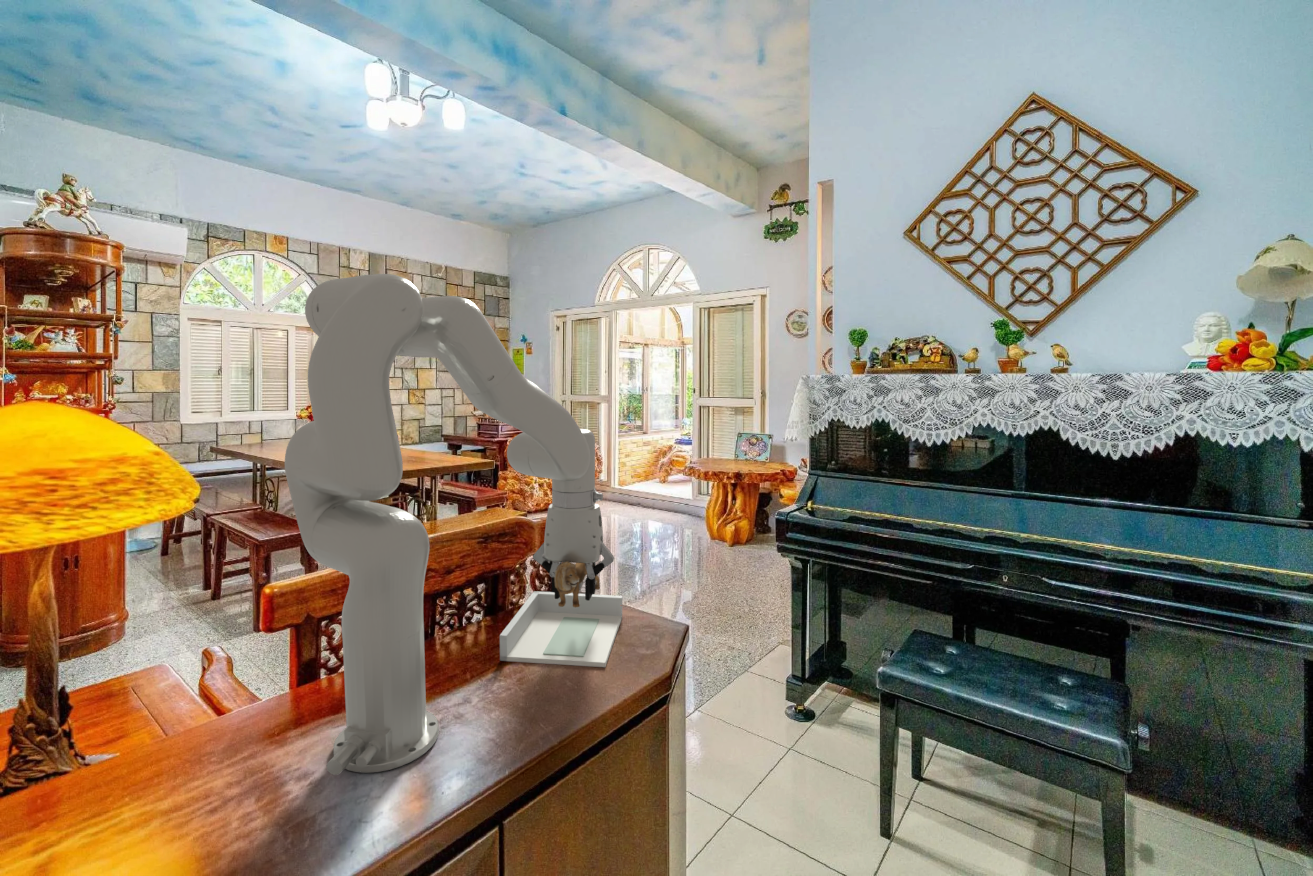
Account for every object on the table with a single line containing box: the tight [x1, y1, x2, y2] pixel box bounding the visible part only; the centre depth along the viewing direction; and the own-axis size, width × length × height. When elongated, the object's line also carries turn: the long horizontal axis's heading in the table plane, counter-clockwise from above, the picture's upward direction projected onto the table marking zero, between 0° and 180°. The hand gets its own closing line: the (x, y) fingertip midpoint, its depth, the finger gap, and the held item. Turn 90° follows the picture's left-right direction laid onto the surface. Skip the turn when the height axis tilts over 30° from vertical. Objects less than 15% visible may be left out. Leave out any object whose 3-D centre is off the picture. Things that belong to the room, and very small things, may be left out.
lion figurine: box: [554, 562, 601, 607], centre depth 109 cm, size 15×5×9 cm, turn 167°
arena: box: [499, 590, 623, 668], centre depth 109 cm, size 20×18×4 cm
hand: (573, 595), depth 108 cm, fingers closed on lion figurine, 4 cm apart
